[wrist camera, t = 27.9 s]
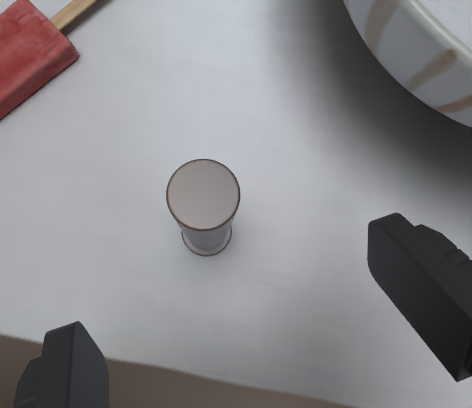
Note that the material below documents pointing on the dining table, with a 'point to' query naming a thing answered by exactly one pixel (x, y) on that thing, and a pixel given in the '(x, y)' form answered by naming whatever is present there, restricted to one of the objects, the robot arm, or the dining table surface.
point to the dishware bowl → (422, 48)
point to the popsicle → (33, 49)
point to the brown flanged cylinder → (204, 204)
